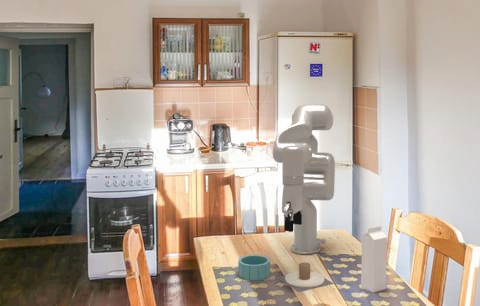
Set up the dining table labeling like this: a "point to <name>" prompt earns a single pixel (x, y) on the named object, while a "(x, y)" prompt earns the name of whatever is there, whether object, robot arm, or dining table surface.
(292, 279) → the lid
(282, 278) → the mat
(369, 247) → the milk
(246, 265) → the bowl
